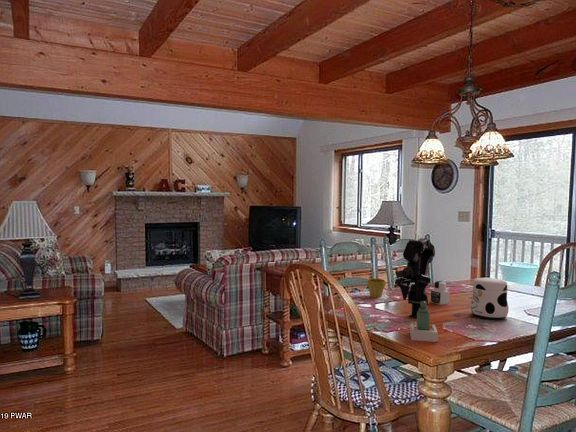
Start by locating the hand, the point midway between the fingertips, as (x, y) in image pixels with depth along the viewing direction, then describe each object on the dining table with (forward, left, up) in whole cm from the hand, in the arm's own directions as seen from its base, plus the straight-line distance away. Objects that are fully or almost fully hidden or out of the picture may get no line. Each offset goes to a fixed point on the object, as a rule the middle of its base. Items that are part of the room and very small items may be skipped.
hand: (410, 299), depth 205 cm
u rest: (+13, +9, -12) cm, 20 cm away
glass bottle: (+13, +9, -12) cm, 20 cm away
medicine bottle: (-52, +1, -13) cm, 54 cm away
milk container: (-38, +28, -13) cm, 49 cm away
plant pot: (-46, -34, -13) cm, 59 cm away
